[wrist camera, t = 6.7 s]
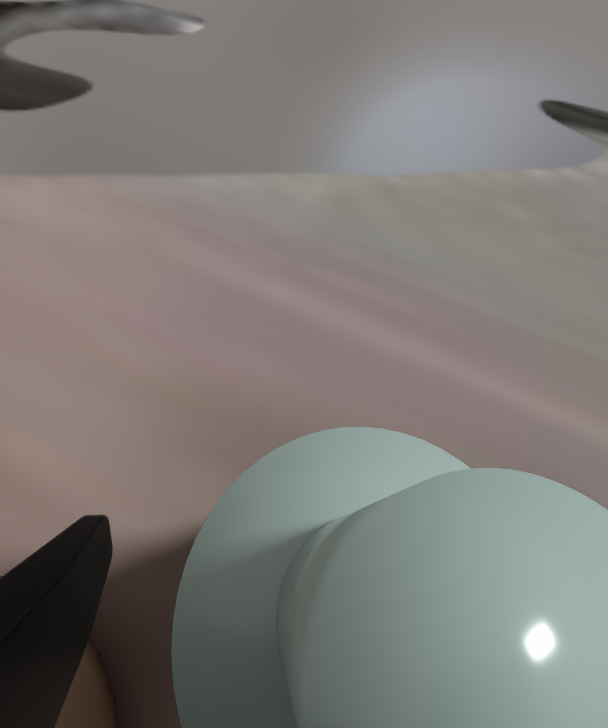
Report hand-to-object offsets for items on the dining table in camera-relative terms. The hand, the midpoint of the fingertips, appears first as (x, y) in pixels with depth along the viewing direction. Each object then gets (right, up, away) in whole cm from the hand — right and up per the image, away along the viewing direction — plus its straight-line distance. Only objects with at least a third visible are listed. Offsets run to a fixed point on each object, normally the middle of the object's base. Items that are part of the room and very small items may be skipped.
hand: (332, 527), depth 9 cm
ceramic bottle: (-1, -4, +6) cm, 8 cm away
